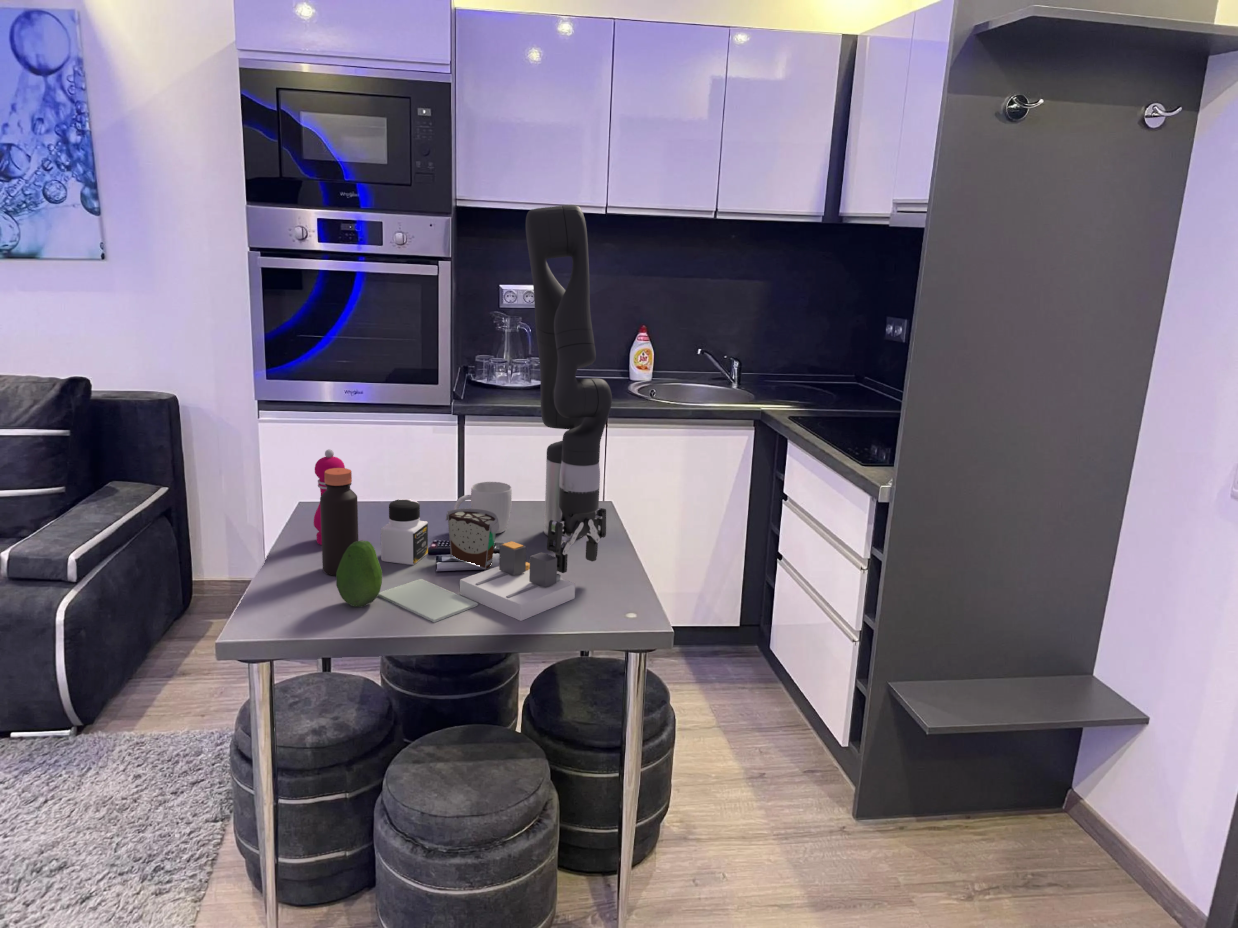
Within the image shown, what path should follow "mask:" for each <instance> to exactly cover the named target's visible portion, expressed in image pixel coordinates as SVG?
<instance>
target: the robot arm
mask: <svg viewBox="0 0 1238 928" xmlns="http://www.w3.org/2000/svg"><path fill="white" fill-rule="evenodd" d="M587 230H588V229H587V221H586V218H585V216H584V211H583V210H582V208H581V207H580V206H578V205H576V204H570V205H568V204H567V205H557V206H556V205H555V206H545V207H537V208H532V209H530V210H529V211H528V212H527V213H526V217H525V236H526V237H525V238H526V243H527V249H528V251H527V252H528V257H529V263H530V270H531V271H530V272H531V278H532V279H531V280H532V286H533V300H534V301H533V302H534V303H533V304H534V321H535V323H534V324H535V333H536V335H535V336H536V341H537V342H536V343H537V349H538V360H539V372H540V374H539V375H540V377H539V378H540V380H539V381H540V413H541V414H540V415H541V421H542V422H543V425H544V426H545V427H547V428H550V429H558V430H565V431H564V433H563V435H562V440H559V441H556V442H555V441H554V442H553V443H550V444H549V445H548V446H547V448H546V458H545V459H546V460H545V461H546V462H545V463H546V465H545V466H546V467H545V497H544V498H545V499H544V526H543V527H544V528H543V529H544V531H543V533H544V535H546V536H547V542H546V549H547V551H548V552H551V553H553V554H555V556H554V557H556V558H557V573H558V572H559V573H561V574H564V573H567V572H568V556H569V555H568V551H569V549H570V547H571V546H572V545H574V543H575V542H576V540H577V539H579V538H582V537H585V538H586V542H585V559H586V560H587V561H590V562H595V561H597V557H598V551H599V550H598V549H599V548H598V546H599V545H598V544H599V542H600V541H601V538H605V537H606V536H607V509H606V508H604V507H602V506H601V507H600V506H599V505H600V482H601V470H600V469H601V468H600V455H601V441H602V436H603V434H604V430H605V427H606V425H607V424H606V423H607V420H608V417H609V414H610V411H611V409H612V408H611V407H612V404H613V403H612V402H613V394H612V390H611V387H610V385H609V383H608V382H607V381H606V380H605V379H602V378H597V377H595V378H577V377H576V374H577V372H578V370H579V369H581V368H586V367H587V366H590V365H592V364H594V362H595V361H596V358H597V353H596V346H595V337H594V332H593V331H594V330H593V324H592V315H591V303H590V302H591V300H590V295H591V293H590V289H591V288H590V284H591V283H590V264H589V263H590V262H589V261H590V259H589V244H588V243H589V242H588V241H589V240H588V231H587ZM568 257H570V258H571V260H572V261H571V264H572V267H571V275H570V278H569V281H568V283H567V286H566V289H565V288H564V287H563V286H562V285H561V283H559V281H558V280H557V278H556V277H555V276H554V274H553V272H552V270H551V268H550V266H549V264H548V262H547V260H549V259H550V260H551V259H559V258H568ZM554 543H555V544H554ZM563 543H564V544H563ZM562 545H563V546H562Z"/></svg>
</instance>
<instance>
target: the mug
mask: <svg viewBox="0 0 1238 928" xmlns="http://www.w3.org/2000/svg"><path fill="white" fill-rule="evenodd" d="M470 489H471V490H470V494H464V495H463V496H460V497H459V498H458V499H457V500H456V502H455V503H454V505H453V510H454V509H460V505H461V504H462V503H464V502H465V501H470V508H474V509H483V510H487V511H490V512H493V513H494V514H495V515H496V516H497V518H498V522H499V529H498V530H497V531H496V533H495V535H496V534H501V533H503V532H504V531H506V529H507V527H508V525H509V522H510V521H509V520H510V516H511V511H512V498H513V497H512V496H513V495H512V494H513V493H512V486H511V485H510V484H508V483H505V482H500V481H482V482H477V483H474V484H473V485H472V486H471V488H470Z"/></svg>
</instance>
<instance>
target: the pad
mask: <svg viewBox="0 0 1238 928" xmlns="http://www.w3.org/2000/svg"><path fill="white" fill-rule="evenodd" d="M377 597H379V598H381V599H384V600H385V601H388V602H390V603H392V604H394V605H396V606H399V607H401V608H403V609H405V610H406V611H409V612H411V613H413V614H415V615H417V616H419V617H422V618H424V619H426V620H428V621H430V622H432V623H437V622H439V621H442V620H445V619H447V618H450V617H452V616H454V615H457V614H458V615H459V614H460V613H463V612H465V611H467V610H471V609H473V608H476V607H478V605H479V603H478V602H476V601H473V600H471V599H469V598H467V597H464V596H462V595H460V594H457V593H455V592H453V591H450V590H448V589H445V588H444V587H441V586H439V585H437V584H434V583H432V582H430V581H427V580H425V579H423V578H419V579H415V580H413V581H410V582H407V583H404V584H401V585H397V586H395V587H391V588H389V589H386V590H383V591H380V592H379V594H378V596H377Z"/></svg>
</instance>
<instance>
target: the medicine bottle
mask: <svg viewBox="0 0 1238 928" xmlns="http://www.w3.org/2000/svg"><path fill="white" fill-rule="evenodd" d="M420 509H421V504H420V503H419V502H418V501H416V500H414V499H410V498H399V499H395V500H393V501H391V502H390V503H389V504H388V523H387V524H385V525H384V526H382V527H381V528H380V551H381V552H380V553H381V556H380V557H381V561H382V562H387V563H394V564H401V565H410V566H414V565H415V564H417V563H418V562H420V561H421V559H423V558H424V557H425V556H427V555H428V553H429V524H428V523H429V522H428V521H426V520H425V521H424V520H421V515H420V514H421V513H420V512H421V510H420Z"/></svg>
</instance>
